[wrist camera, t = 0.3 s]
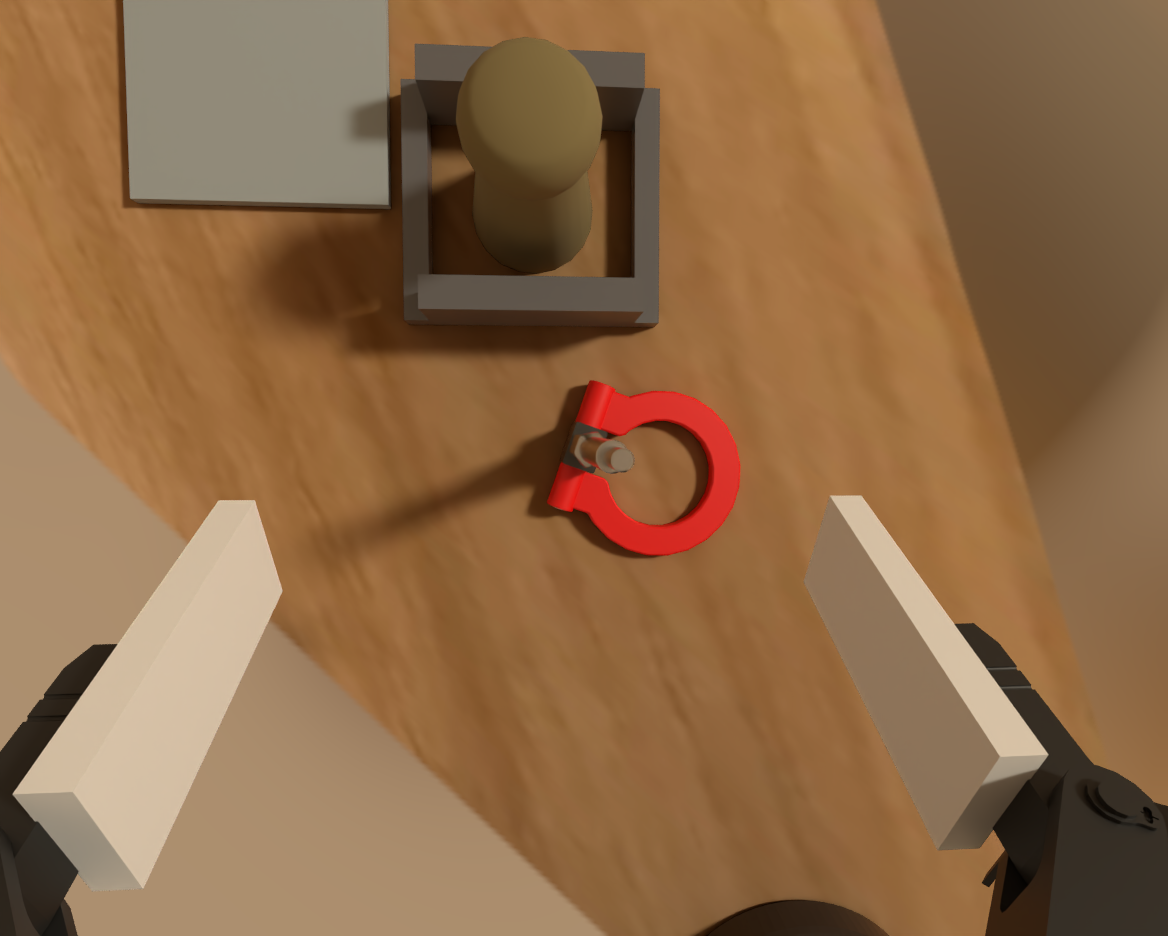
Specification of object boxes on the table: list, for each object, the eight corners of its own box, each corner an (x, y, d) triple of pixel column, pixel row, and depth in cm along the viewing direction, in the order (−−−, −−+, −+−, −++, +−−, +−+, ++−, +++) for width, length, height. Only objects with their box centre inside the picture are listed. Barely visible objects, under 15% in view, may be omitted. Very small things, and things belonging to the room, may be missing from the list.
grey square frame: (654, 327, 33) (669, 312, 29) (409, 324, 32) (390, 308, 28) (655, 101, 32) (671, 54, 28) (405, 92, 31) (386, 42, 27)
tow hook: (754, 423, 34) (592, 363, 33) (902, 424, 21) (643, 325, 20) (701, 571, 34) (538, 517, 33) (815, 661, 21) (554, 577, 20)
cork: (453, 175, 32) (408, 38, 21) (566, 134, 32) (580, -24, 21) (499, 290, 32) (477, 215, 21) (609, 248, 32) (645, 152, 22)
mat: (391, 209, 32) (388, 204, 31) (138, 203, 31) (130, 198, 30) (387, -43, 31) (384, -52, 30) (129, -56, 30) (120, -66, 30)
